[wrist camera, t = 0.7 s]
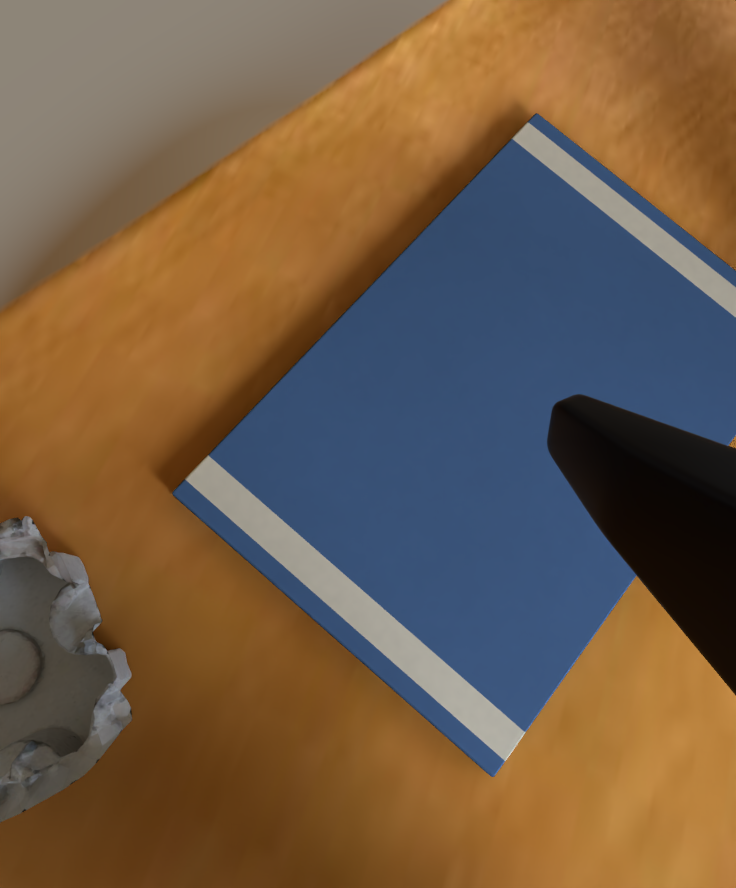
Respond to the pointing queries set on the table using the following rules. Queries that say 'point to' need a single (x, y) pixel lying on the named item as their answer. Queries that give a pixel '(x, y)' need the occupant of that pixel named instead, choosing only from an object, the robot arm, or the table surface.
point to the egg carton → (51, 672)
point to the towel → (476, 436)
